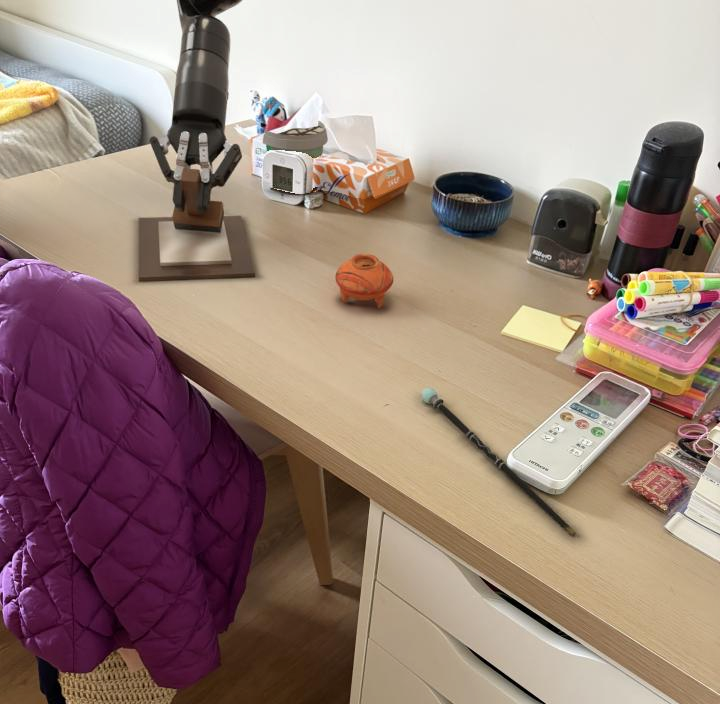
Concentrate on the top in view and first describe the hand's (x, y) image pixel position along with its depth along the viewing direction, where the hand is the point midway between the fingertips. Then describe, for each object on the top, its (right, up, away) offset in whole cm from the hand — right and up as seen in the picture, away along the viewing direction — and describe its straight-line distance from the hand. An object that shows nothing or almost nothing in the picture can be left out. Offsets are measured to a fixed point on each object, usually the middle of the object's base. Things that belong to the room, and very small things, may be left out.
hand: (190, 210), depth 103 cm
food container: (+14, +13, +24) cm, 31 cm away
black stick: (+39, -37, -27) cm, 60 cm away
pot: (+25, -14, -4) cm, 29 cm away
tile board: (0, -4, +4) cm, 6 cm away
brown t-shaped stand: (0, +1, +6) cm, 6 cm away
